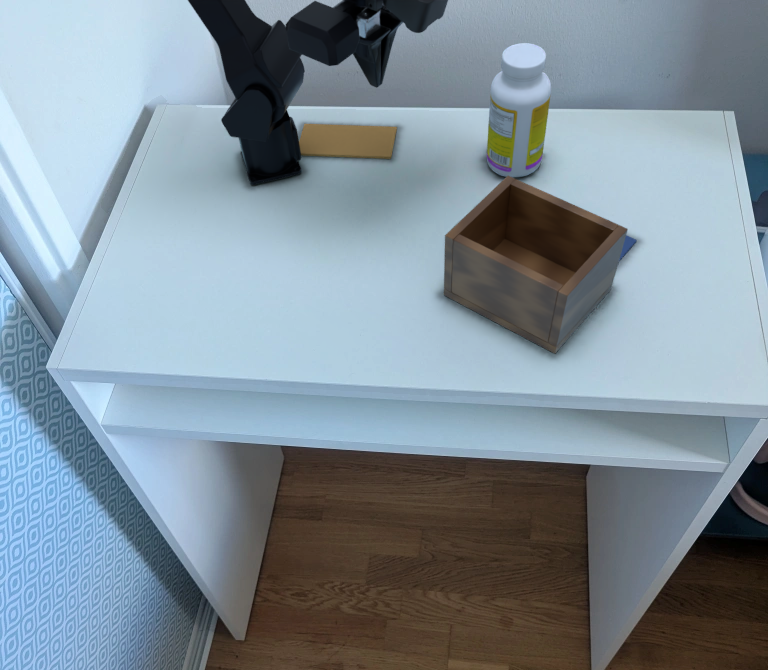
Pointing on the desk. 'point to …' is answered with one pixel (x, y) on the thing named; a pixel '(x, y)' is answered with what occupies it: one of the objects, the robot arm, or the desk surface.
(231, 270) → the desk surface
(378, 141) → the tan cloth
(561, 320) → the crate
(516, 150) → the supplement bottle
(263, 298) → the desk surface
